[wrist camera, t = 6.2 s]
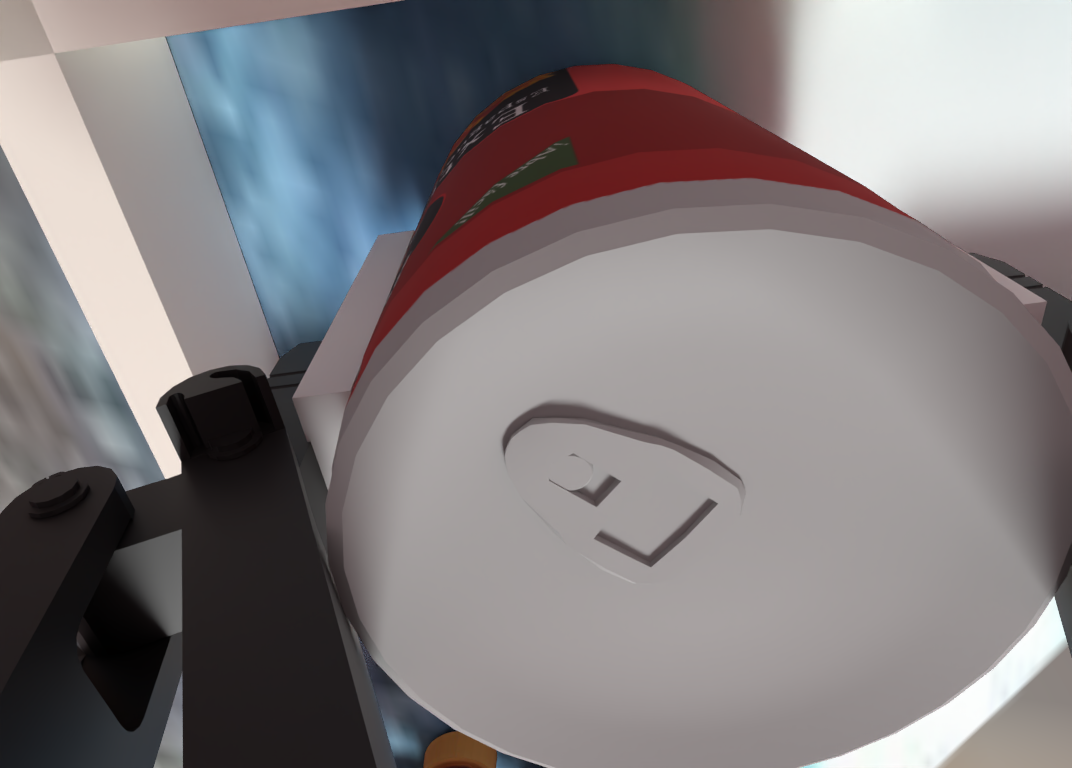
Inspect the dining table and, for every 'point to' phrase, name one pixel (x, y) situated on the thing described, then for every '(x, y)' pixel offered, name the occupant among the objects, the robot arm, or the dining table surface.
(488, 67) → the dining table surface
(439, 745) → the binoculars
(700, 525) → the canned food
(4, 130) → the white rectangular tray
